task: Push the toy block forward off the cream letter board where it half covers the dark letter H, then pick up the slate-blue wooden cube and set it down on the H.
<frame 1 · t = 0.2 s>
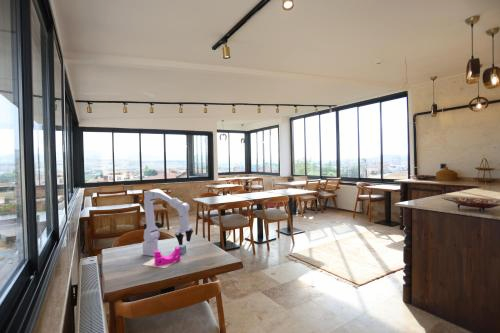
hand: (184, 243, 178), 10 cm above the table, tool pointing down, fingers open, 7 cm apart
slate-blue cube: (181, 253, 188), on the table
letter board: (162, 261, 173), on the table
toy block: (168, 262, 172), resting on letter board
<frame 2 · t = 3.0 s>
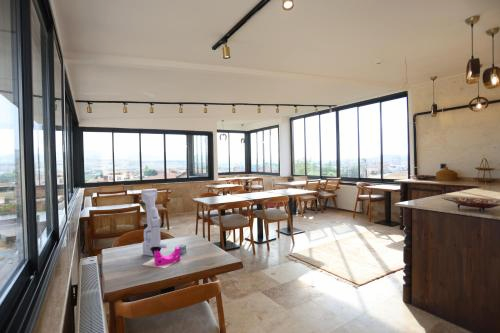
hand: (156, 258, 175), 2 cm above the table, tool pointing down, fingers closed
toy block: (168, 262, 172), resting on letter board, touching gripper
everything else where it was.
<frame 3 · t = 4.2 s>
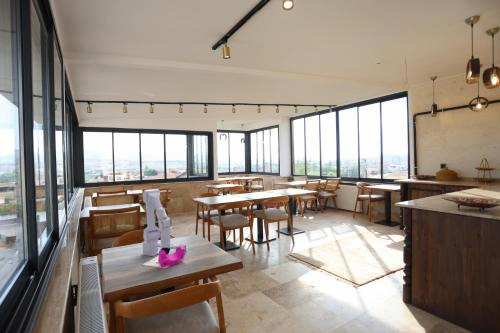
hand: (166, 259, 172), 2 cm above the table, tool pointing down, fingers closed, pressing on toy block
toy block: (171, 261, 170), point 1 cm above the table, touching gripper, letter board
everything else where it was.
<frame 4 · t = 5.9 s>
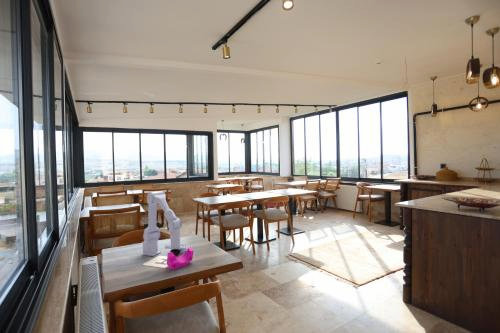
hand: (176, 260, 170), 2 cm above the table, tool pointing down, fingers closed
toy block: (180, 263, 167), point 1 cm above the table, touching gripper
everything else where it was.
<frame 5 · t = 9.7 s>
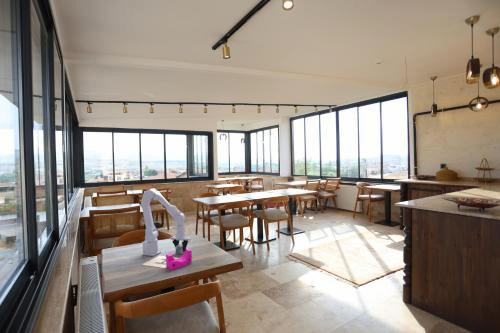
hand: (180, 250, 188), 1 cm above the table, tool pointing down, fingers closed on slate-blue cube, 5 cm apart
slate-blue cube: (181, 252, 188), on the table, touching gripper
toy block: (180, 265, 167), on the table, touching letter board
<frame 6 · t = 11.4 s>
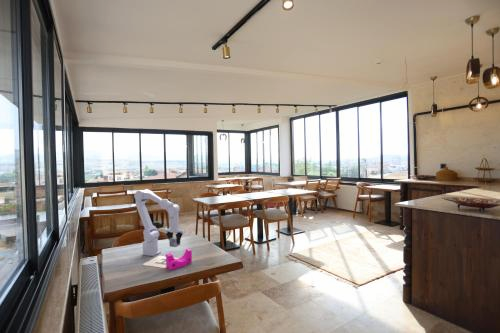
hand: (174, 243, 182), 8 cm above the table, tool pointing down, fingers closed on slate-blue cube, 5 cm apart
slate-blue cube: (175, 245, 183), point 7 cm above the table, touching gripper
everything else where it was.
when the fingers open (3 cm above the table, at t = 13.6 s): slate-blue cube drops 1 cm, resting on letter board.
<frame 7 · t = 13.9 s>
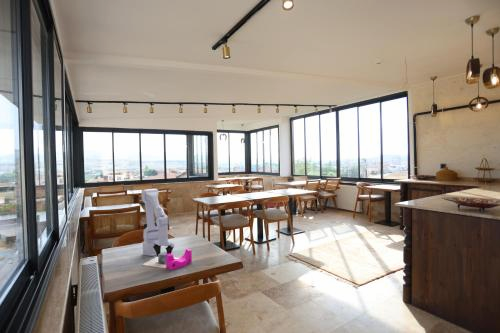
hand: (163, 257, 173), 3 cm above the table, tool pointing down, fingers open, 7 cm apart
slate-blue cube: (164, 261, 173), resting on letter board
everything else where it was.
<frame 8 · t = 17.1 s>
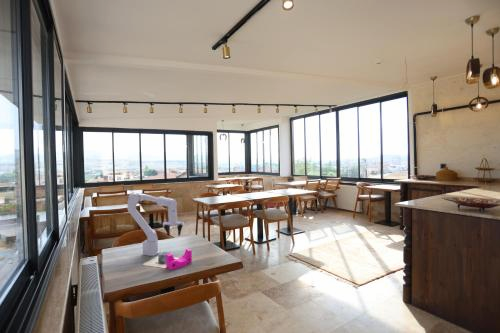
hand: (174, 235, 194), 10 cm above the table, tool pointing down, fingers open, 7 cm apart
nothing on the table moved.
at the end: slate-blue cube 0.3 cm from the target spot on the letter board, point 0.3 cm above the letter board's base; slate-blue cube tilted 0°; toy block inside the target area on the table beside the letter board (5.5 cm from its centre), on the table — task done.
